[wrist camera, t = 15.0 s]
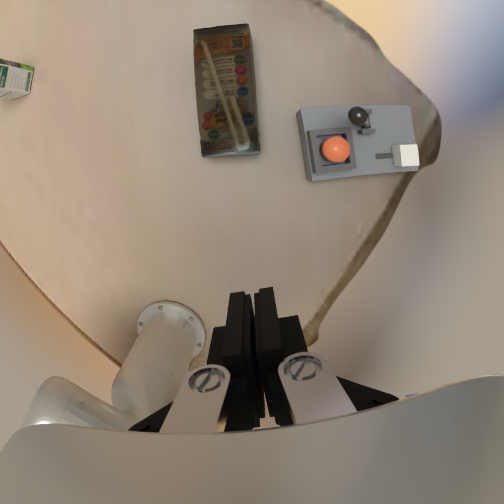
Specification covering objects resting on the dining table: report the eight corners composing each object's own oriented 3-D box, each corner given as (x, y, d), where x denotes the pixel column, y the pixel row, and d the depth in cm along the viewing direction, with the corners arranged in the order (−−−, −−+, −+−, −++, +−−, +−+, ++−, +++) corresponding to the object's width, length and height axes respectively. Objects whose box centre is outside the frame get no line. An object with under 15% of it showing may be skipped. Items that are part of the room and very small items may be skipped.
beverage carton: (205, 158, 41) (198, 158, 35) (198, 42, 35) (190, 25, 29) (260, 154, 41) (262, 153, 35) (250, 37, 35) (250, 19, 29)
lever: (374, 129, 35) (368, 124, 26) (359, 130, 36) (348, 126, 27) (372, 113, 34) (364, 104, 26) (356, 115, 35) (344, 106, 27)
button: (344, 160, 36) (351, 160, 33) (321, 162, 36) (327, 163, 33) (340, 136, 35) (348, 135, 32) (317, 139, 35) (323, 137, 32)
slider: (410, 164, 37) (419, 165, 34) (393, 165, 37) (402, 166, 34) (408, 144, 36) (417, 144, 33) (391, 145, 36) (399, 144, 34)
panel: (405, 168, 41) (425, 171, 35) (306, 179, 42) (315, 182, 36) (397, 108, 38) (416, 103, 32) (296, 113, 39) (303, 106, 33)
